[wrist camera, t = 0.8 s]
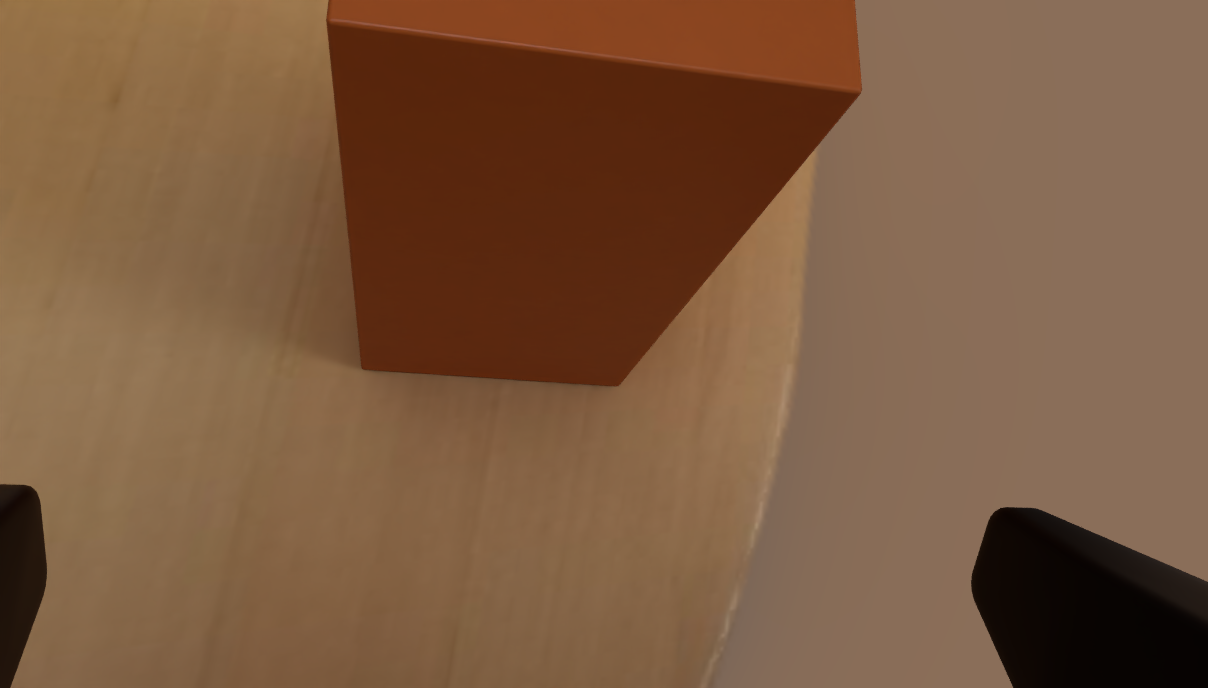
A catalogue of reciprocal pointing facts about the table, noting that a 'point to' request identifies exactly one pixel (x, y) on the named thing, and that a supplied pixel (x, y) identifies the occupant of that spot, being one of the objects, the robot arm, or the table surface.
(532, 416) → the table surface
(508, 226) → the orange block
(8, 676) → the robot arm
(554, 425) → the table surface
